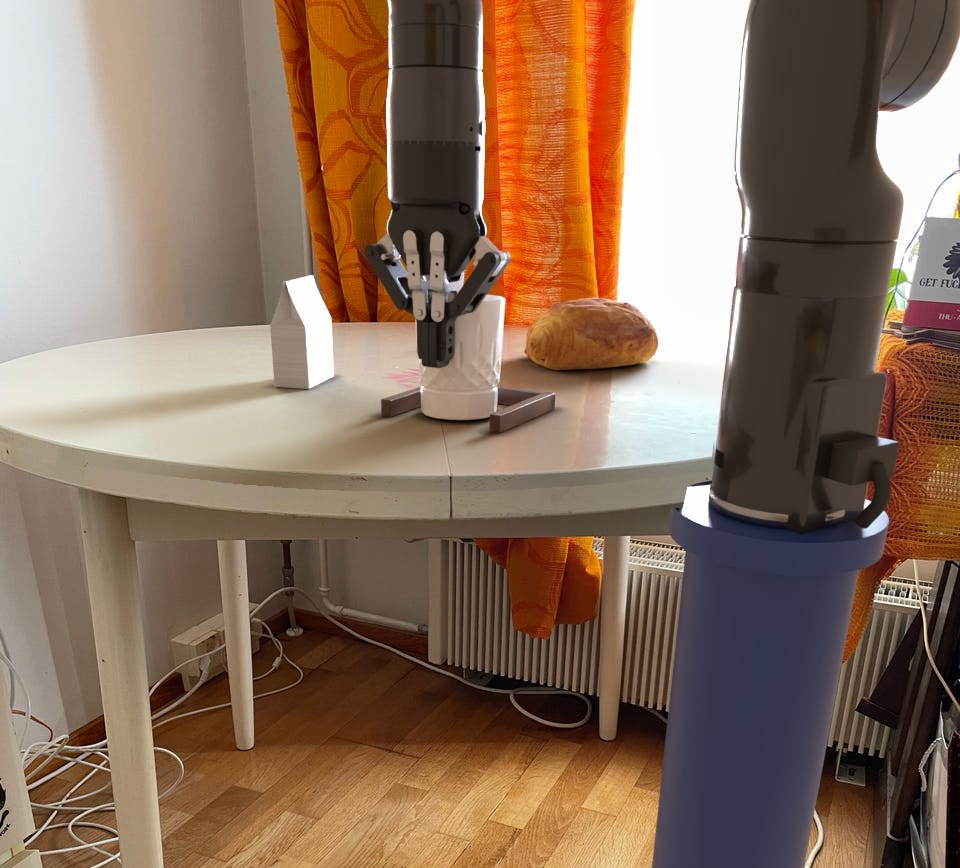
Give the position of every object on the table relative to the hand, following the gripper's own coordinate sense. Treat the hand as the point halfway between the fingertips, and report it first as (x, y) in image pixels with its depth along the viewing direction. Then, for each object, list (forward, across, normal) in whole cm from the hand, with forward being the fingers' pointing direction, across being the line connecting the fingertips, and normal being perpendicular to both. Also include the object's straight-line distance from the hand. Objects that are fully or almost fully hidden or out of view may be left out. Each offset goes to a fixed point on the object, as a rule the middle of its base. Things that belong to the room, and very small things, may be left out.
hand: (436, 365), depth 86 cm
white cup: (+5, 0, +5) cm, 7 cm away
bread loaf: (+5, -2, +36) cm, 37 cm away
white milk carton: (+5, -21, +9) cm, 24 cm away
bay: (+5, 0, +6) cm, 7 cm away
